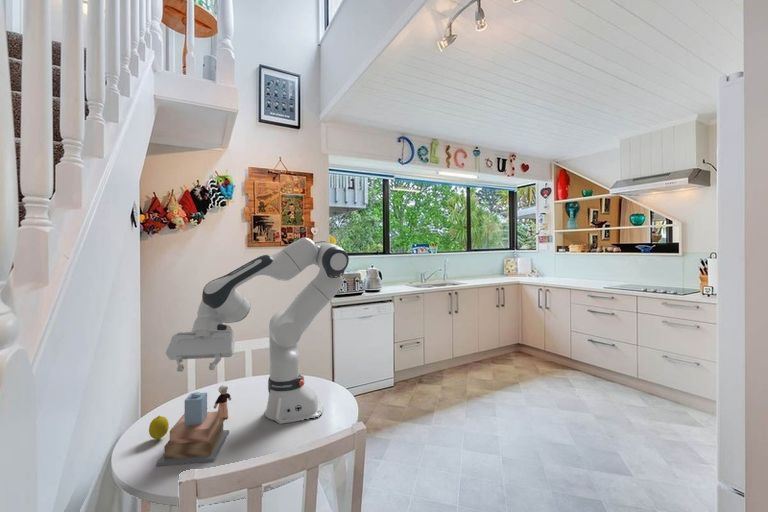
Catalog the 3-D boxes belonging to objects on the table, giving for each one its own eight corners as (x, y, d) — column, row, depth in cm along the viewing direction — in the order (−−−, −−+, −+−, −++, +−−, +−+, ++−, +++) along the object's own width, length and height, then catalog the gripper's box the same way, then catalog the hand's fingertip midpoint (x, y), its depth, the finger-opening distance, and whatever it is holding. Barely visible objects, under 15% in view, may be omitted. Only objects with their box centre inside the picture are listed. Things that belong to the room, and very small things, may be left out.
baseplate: (229, 432, 119) (229, 429, 119) (214, 461, 103) (214, 458, 103) (179, 436, 116) (179, 433, 116) (156, 466, 101) (156, 462, 101)
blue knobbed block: (207, 416, 112) (207, 390, 112) (201, 424, 107) (201, 396, 107) (190, 417, 112) (190, 390, 111) (184, 425, 107) (184, 397, 106)
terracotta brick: (223, 432, 117) (223, 409, 117) (210, 455, 104) (210, 430, 104) (182, 435, 115) (182, 412, 115) (164, 459, 102) (164, 433, 102)
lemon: (146, 445, 111) (146, 421, 111) (152, 436, 116) (152, 413, 116) (165, 442, 112) (165, 419, 112) (170, 433, 118) (170, 411, 117)
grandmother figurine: (221, 423, 125) (221, 389, 125) (211, 422, 126) (212, 388, 125) (234, 413, 132) (234, 381, 132) (225, 412, 133) (225, 380, 133)
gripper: (170, 328, 114) (156, 367, 104) (235, 326, 117) (227, 363, 108) (176, 337, 118) (163, 376, 109) (238, 335, 122) (231, 372, 112)
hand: (195, 370), depth 108 cm, fingers open, 8 cm apart
